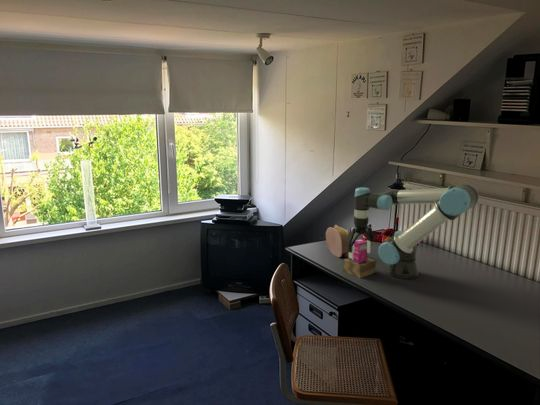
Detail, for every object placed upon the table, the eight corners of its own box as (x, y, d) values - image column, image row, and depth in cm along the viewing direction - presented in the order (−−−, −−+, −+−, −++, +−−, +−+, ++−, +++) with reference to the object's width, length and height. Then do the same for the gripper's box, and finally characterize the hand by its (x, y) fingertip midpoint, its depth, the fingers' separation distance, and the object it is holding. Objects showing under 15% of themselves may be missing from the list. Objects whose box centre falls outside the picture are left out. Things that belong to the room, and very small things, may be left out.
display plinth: (375, 272, 238) (375, 260, 237) (359, 278, 231) (360, 265, 230) (358, 266, 248) (359, 255, 246) (343, 271, 241) (343, 259, 239)
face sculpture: (351, 258, 260) (352, 231, 257) (341, 260, 258) (342, 232, 254) (332, 248, 278) (333, 223, 274) (323, 250, 275) (323, 224, 271)
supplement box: (351, 260, 239) (352, 240, 236) (360, 259, 242) (360, 239, 239) (358, 264, 234) (359, 243, 231) (367, 262, 237) (368, 241, 234)
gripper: (371, 211, 243) (370, 248, 247) (339, 219, 228) (338, 258, 233) (382, 214, 237) (380, 252, 241) (349, 222, 222) (348, 262, 227)
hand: (359, 255), depth 237 cm, fingers open, 13 cm apart
